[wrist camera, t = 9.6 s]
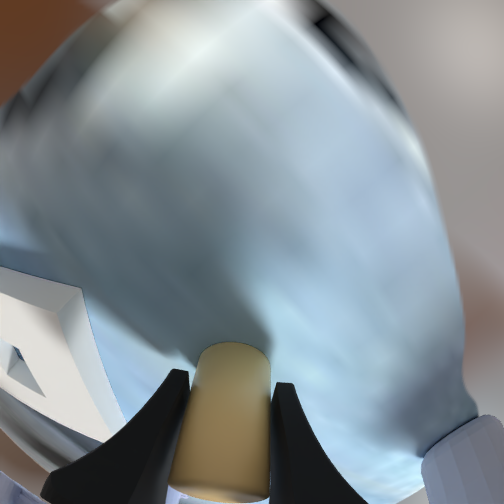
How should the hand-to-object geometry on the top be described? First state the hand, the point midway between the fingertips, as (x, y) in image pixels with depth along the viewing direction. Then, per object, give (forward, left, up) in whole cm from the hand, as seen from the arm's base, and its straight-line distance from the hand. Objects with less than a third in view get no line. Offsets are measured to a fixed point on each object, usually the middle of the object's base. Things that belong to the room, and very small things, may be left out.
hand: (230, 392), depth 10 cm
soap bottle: (-12, -23, -2) cm, 26 cm away
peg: (0, 0, -1) cm, 1 cm away
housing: (-3, +18, -1) cm, 18 cm away
